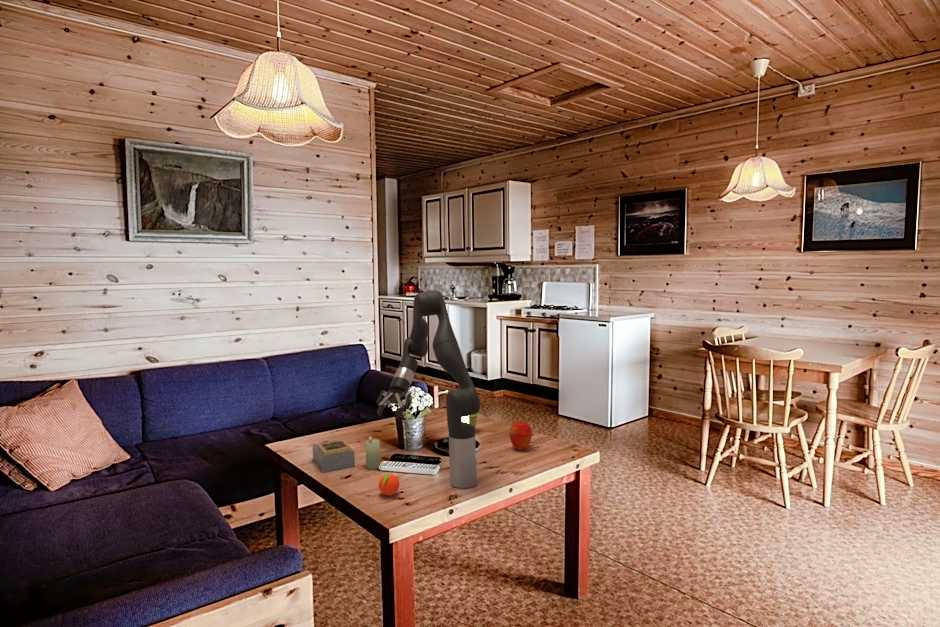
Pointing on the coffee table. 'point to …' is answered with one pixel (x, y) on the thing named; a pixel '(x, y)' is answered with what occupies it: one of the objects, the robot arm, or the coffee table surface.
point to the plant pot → (473, 419)
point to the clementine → (389, 484)
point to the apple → (520, 435)
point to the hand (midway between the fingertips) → (387, 416)
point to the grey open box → (333, 455)
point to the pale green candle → (372, 453)
